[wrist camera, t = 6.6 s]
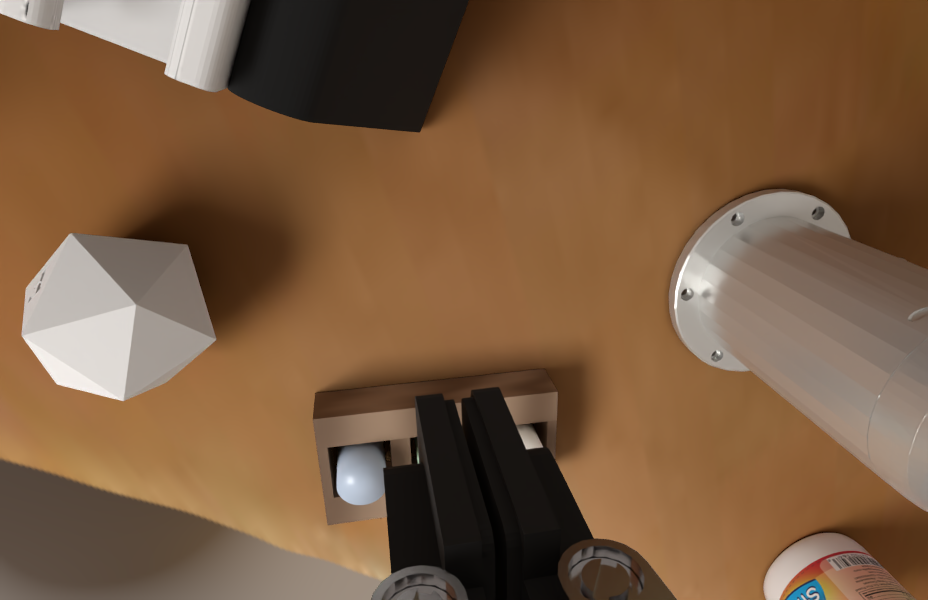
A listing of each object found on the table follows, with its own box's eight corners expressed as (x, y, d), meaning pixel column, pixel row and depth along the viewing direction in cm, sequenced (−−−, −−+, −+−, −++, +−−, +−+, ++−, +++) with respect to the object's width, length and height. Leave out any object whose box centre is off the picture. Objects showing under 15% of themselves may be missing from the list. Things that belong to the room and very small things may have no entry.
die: (201, 194, 34) (14, 200, 26) (278, 327, 34) (111, 379, 25) (129, 271, 38) (-55, 298, 30) (197, 392, 37) (28, 456, 29)
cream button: (533, 410, 42) (548, 441, 38) (532, 447, 43) (547, 480, 39) (488, 415, 41) (500, 446, 38) (489, 452, 42) (500, 486, 39)
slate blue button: (382, 427, 40) (385, 461, 37) (385, 465, 41) (389, 501, 38) (335, 433, 40) (334, 467, 36) (340, 471, 41) (339, 508, 38)
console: (544, 368, 42) (557, 391, 39) (541, 466, 45) (553, 493, 42) (315, 393, 39) (312, 419, 37) (329, 494, 43) (327, 525, 40)
